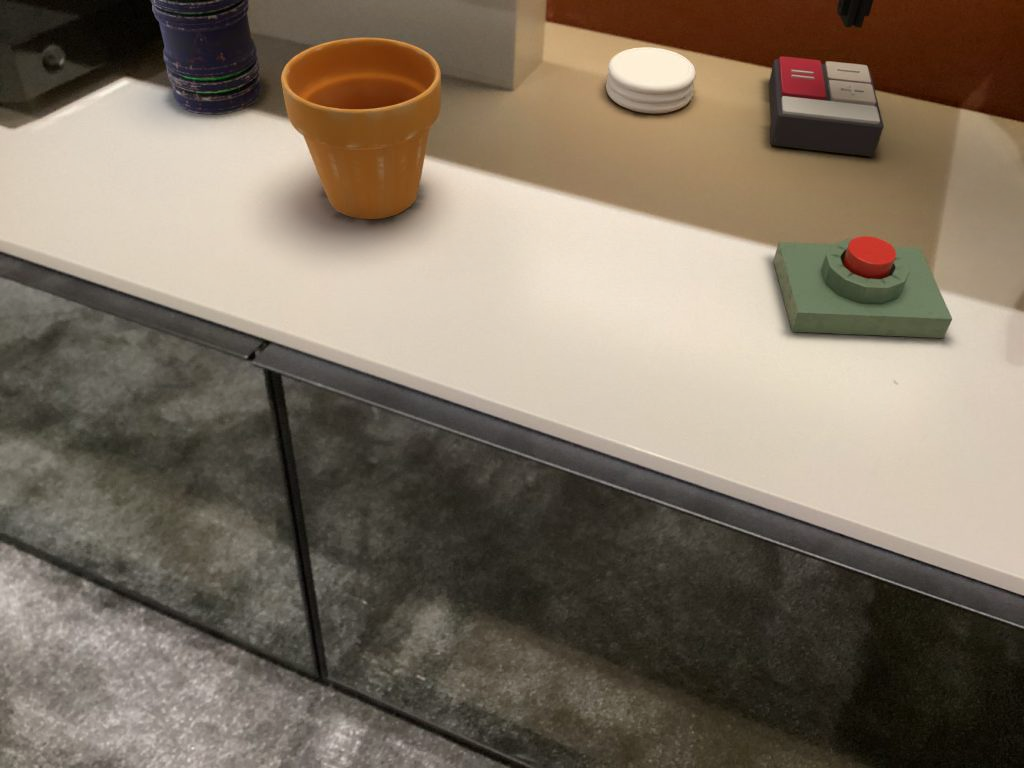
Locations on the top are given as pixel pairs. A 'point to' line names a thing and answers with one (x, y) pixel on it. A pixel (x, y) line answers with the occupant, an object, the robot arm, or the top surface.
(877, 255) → the red push button
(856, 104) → the calculator
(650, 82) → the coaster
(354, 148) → the flower pot
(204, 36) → the storage jar
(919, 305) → the button box
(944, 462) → the top surface
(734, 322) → the top surface
